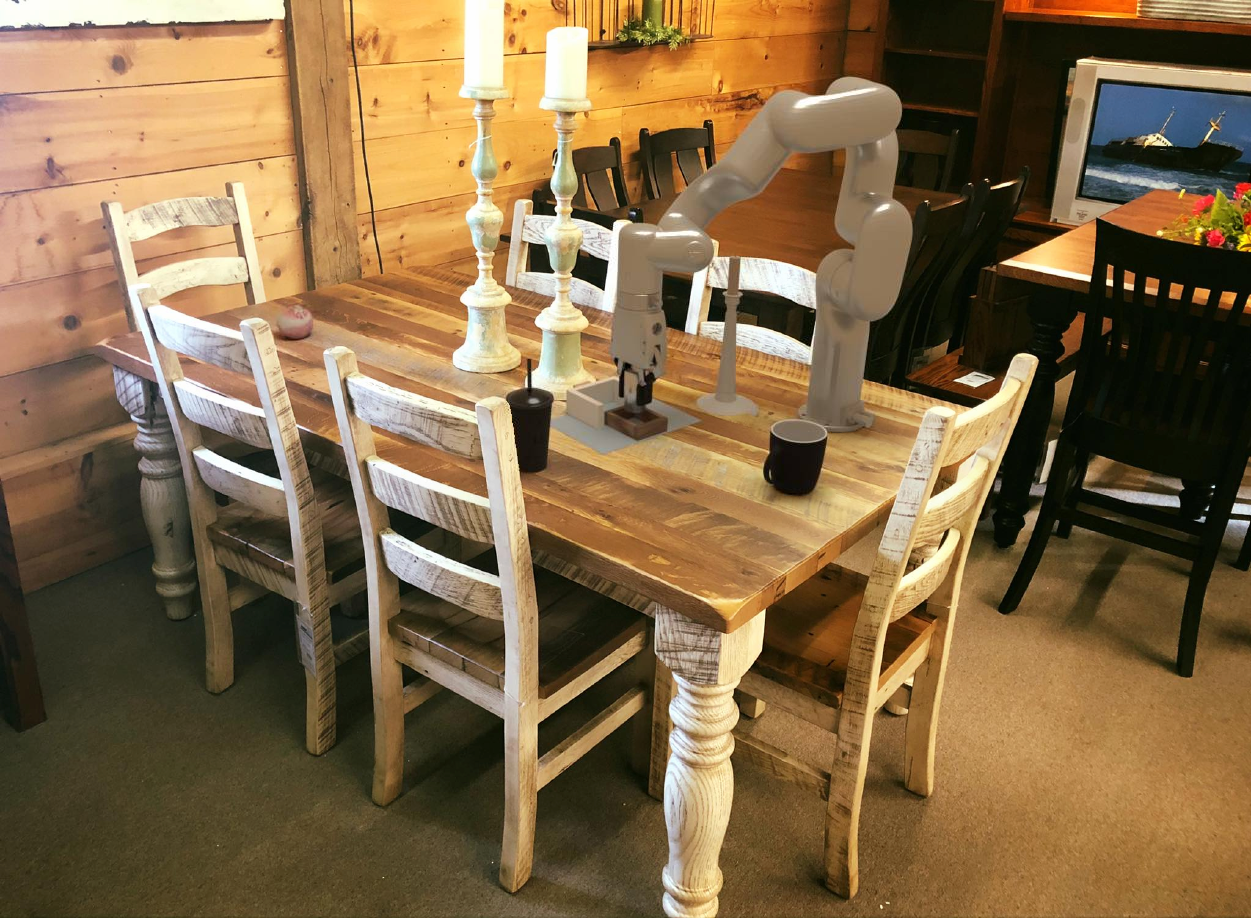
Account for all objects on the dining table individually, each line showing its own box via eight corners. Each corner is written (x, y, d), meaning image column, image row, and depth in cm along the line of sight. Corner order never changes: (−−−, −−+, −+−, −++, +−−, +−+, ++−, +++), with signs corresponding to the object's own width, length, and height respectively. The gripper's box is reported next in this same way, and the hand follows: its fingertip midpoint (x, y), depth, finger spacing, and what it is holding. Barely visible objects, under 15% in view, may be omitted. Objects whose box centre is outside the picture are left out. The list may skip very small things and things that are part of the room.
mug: (790, 470, 177) (795, 414, 172) (832, 489, 171) (839, 432, 166) (741, 491, 169) (745, 433, 165) (784, 511, 163) (789, 452, 159)
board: (701, 428, 191) (701, 420, 191) (603, 462, 178) (603, 454, 177) (639, 399, 203) (639, 392, 202) (543, 429, 189) (543, 421, 188)
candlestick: (739, 394, 206) (751, 243, 193) (770, 419, 195) (785, 261, 182) (679, 402, 202) (687, 248, 189) (708, 428, 191) (718, 266, 178)
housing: (646, 413, 193) (647, 390, 191) (598, 429, 186) (598, 405, 184) (604, 393, 201) (604, 371, 199) (556, 407, 194) (556, 385, 192)
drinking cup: (498, 473, 173) (494, 358, 164) (534, 459, 178) (532, 347, 169) (528, 489, 168) (525, 371, 160) (564, 474, 173) (563, 360, 164)
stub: (650, 409, 185) (652, 372, 182) (633, 414, 183) (634, 377, 180) (635, 402, 188) (637, 365, 185) (618, 407, 186) (619, 370, 183)
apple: (309, 345, 228) (299, 319, 223) (276, 346, 230) (265, 319, 225) (322, 323, 234) (311, 296, 229) (289, 324, 235) (278, 297, 230)
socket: (667, 430, 186) (667, 417, 185) (637, 441, 182) (637, 427, 181) (634, 414, 192) (634, 402, 191) (604, 424, 188) (604, 411, 187)
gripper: (689, 307, 173) (683, 410, 181) (623, 283, 185) (620, 381, 193) (655, 316, 169) (650, 420, 177) (590, 290, 180) (588, 390, 188)
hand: (635, 399), depth 185 cm, fingers closed on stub, 4 cm apart
